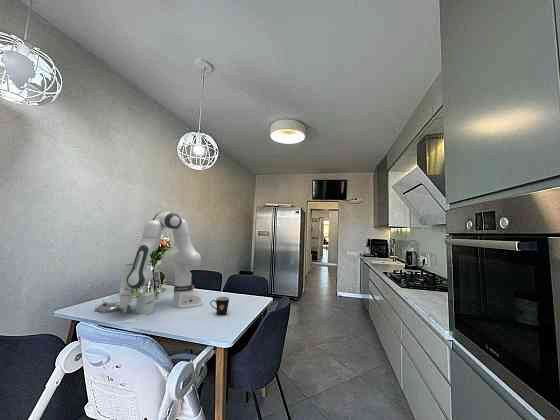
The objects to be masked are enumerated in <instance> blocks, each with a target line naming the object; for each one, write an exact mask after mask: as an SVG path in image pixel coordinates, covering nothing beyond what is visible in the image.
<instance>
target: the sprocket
mask: <svg viewBox="0 0 560 420" xmlns="http://www.w3.org/2000/svg"><path fill="white" fill-rule="evenodd" d="M94 312H96V313H97V312H98V313H101V314H108V313H114V312H121V308H120V301H115V302H109V303H108V299H103V300H102V303H101V304H100V305H98V306H97V307H95V308H94Z"/></svg>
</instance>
